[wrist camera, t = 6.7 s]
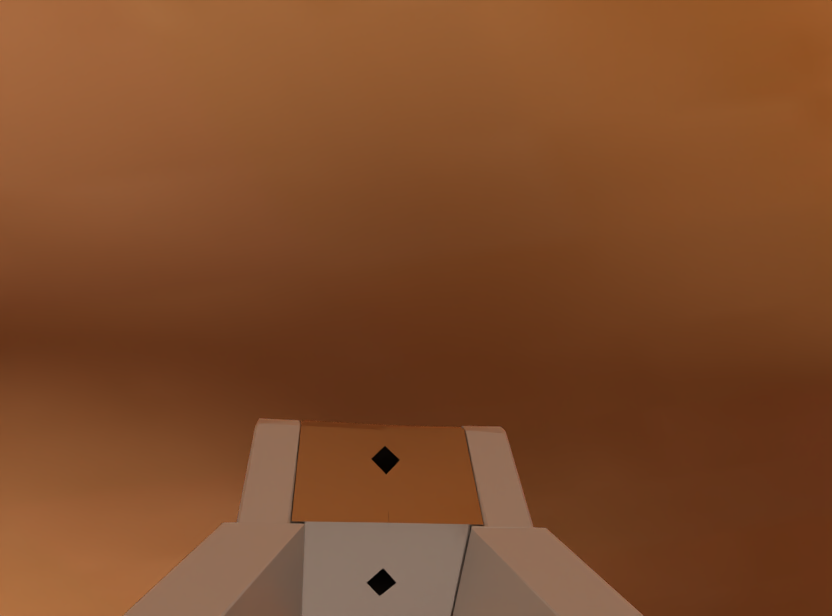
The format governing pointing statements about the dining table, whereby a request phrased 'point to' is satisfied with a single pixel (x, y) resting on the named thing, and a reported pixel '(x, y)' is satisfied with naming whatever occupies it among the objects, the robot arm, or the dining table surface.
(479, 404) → the dining table surface
